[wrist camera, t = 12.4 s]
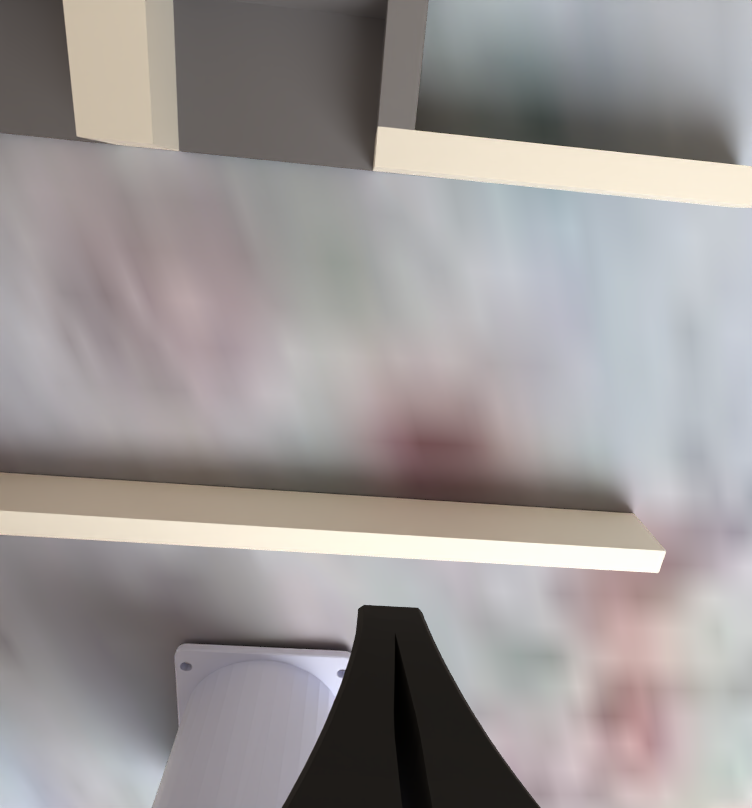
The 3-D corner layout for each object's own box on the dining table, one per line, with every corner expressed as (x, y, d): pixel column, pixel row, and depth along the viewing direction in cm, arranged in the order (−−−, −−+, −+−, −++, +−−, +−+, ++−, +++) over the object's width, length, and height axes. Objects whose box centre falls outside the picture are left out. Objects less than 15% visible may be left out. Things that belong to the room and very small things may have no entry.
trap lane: (627, 533, 22) (673, 591, 19) (-255, 478, 20) (-373, 532, 17) (786, 29, 16) (896, -13, 13) (-492, -129, 14) (-756, -229, 10)
